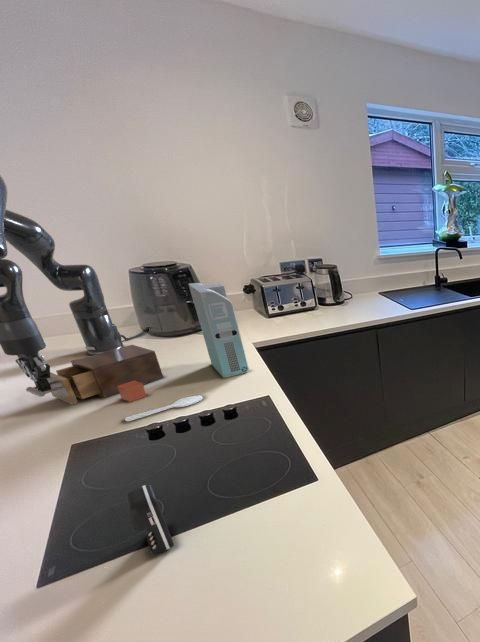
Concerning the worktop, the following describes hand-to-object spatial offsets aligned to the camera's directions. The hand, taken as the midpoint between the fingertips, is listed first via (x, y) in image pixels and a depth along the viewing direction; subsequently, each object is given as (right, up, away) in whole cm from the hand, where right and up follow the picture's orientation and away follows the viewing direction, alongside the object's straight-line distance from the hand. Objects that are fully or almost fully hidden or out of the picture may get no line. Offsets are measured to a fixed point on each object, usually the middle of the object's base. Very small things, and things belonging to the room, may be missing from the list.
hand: (45, 391), depth 114 cm
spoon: (+33, -5, +2) cm, 33 cm away
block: (+18, -3, +8) cm, 20 cm away
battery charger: (+69, -24, -41) cm, 84 cm away
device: (+32, +5, +29) cm, 44 cm away
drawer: (+3, -1, +8) cm, 8 cm away
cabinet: (+6, +1, +17) cm, 18 cm away
